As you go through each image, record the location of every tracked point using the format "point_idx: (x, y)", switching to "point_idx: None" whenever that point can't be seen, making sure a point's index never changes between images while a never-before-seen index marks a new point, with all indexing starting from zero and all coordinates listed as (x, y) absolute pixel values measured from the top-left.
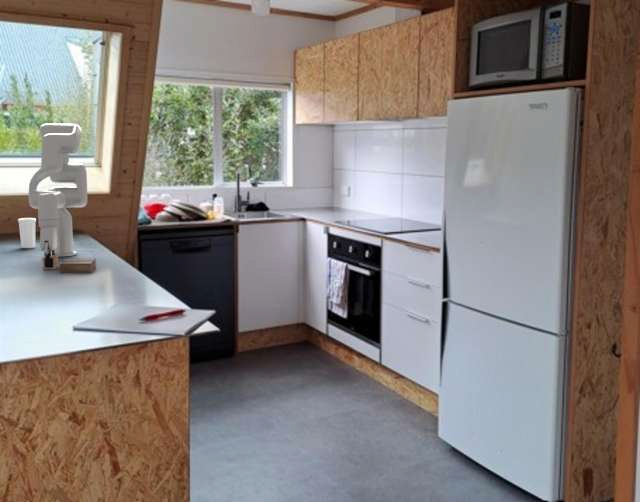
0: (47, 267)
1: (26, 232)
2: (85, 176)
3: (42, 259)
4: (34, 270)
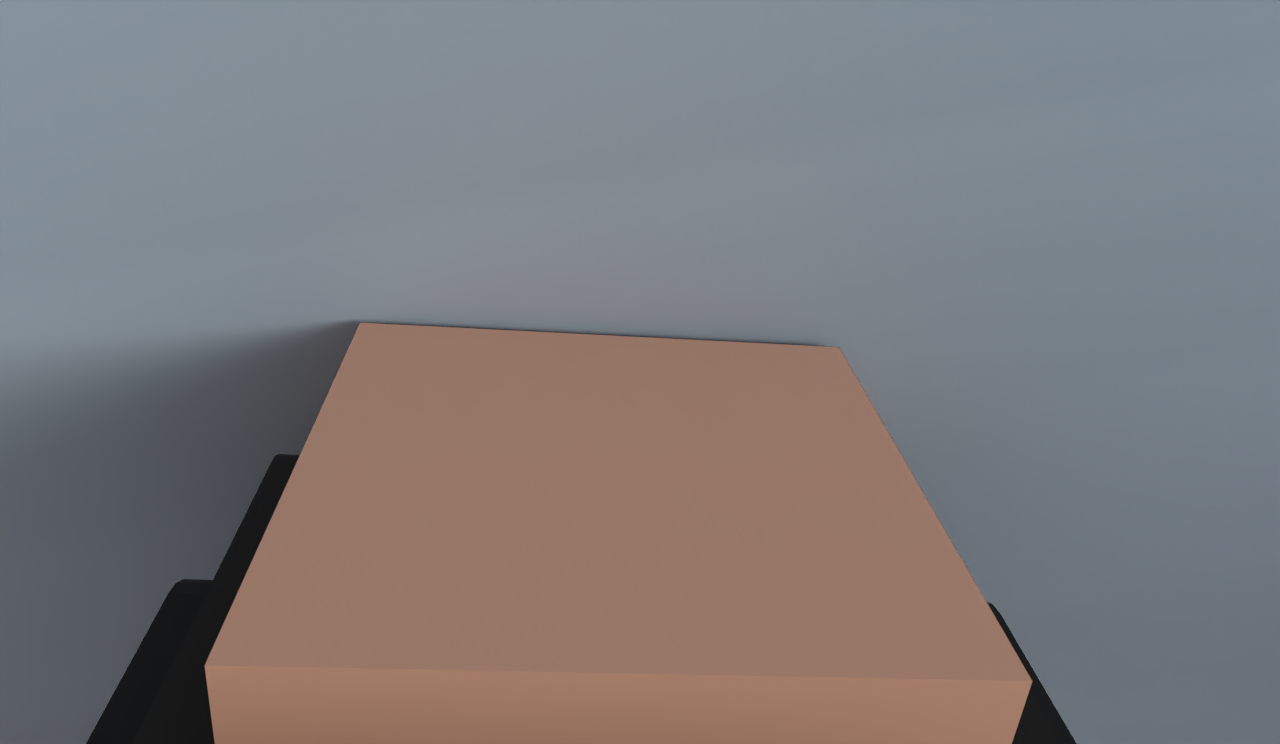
0: None
1: None
2: None
3: (249, 576)
4: (160, 6)
